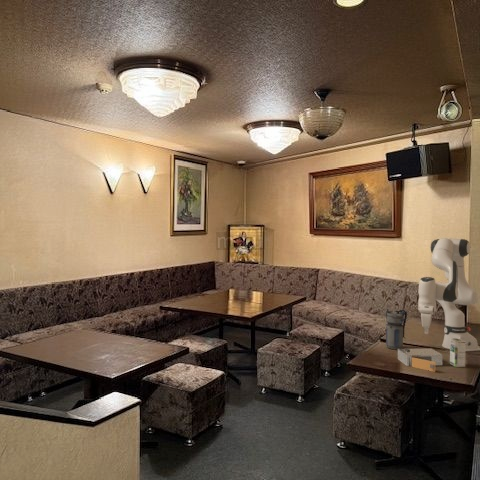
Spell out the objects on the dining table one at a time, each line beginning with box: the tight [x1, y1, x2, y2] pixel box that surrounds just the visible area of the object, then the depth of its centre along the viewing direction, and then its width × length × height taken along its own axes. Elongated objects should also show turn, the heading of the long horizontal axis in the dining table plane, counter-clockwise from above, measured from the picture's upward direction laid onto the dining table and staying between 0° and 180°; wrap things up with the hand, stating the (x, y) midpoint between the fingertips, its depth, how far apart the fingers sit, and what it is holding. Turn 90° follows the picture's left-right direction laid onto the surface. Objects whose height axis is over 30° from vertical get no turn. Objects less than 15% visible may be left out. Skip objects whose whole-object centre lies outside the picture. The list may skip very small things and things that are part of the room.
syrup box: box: [449, 338, 466, 368], centre depth 225 cm, size 6×6×14 cm
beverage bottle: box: [384, 308, 408, 351], centre depth 258 cm, size 10×13×25 cm
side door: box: [409, 356, 436, 373], centre depth 219 cm, size 13×2×5 cm, turn 47°
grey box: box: [397, 347, 443, 367], centre depth 231 cm, size 20×14×7 cm
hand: (426, 332), depth 221 cm, fingers open, 5 cm apart
